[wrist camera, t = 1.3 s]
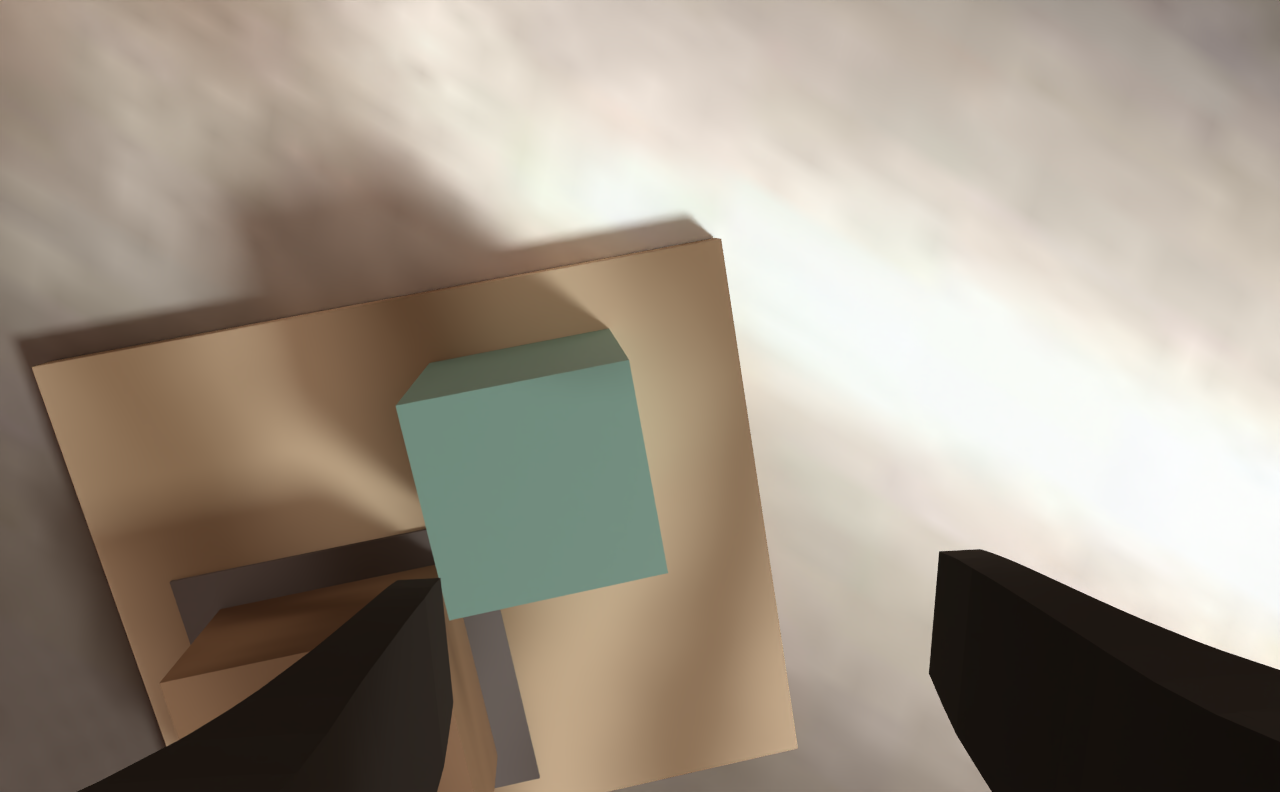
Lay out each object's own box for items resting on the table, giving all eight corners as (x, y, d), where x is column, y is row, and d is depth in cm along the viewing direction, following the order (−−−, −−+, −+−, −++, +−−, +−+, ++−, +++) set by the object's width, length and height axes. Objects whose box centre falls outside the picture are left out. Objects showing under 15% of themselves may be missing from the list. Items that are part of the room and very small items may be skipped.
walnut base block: (283, 803, 23) (237, 906, 20) (220, 608, 22) (158, 683, 18) (497, 755, 23) (488, 847, 20) (449, 562, 22) (431, 625, 19)
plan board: (225, 859, 24) (212, 883, 23) (50, 361, 21) (28, 367, 20) (790, 731, 25) (798, 750, 24) (715, 238, 22) (721, 239, 21)
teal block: (469, 531, 22) (449, 620, 17) (429, 362, 21) (395, 405, 16) (640, 496, 22) (668, 572, 17) (609, 328, 21) (628, 359, 16)
